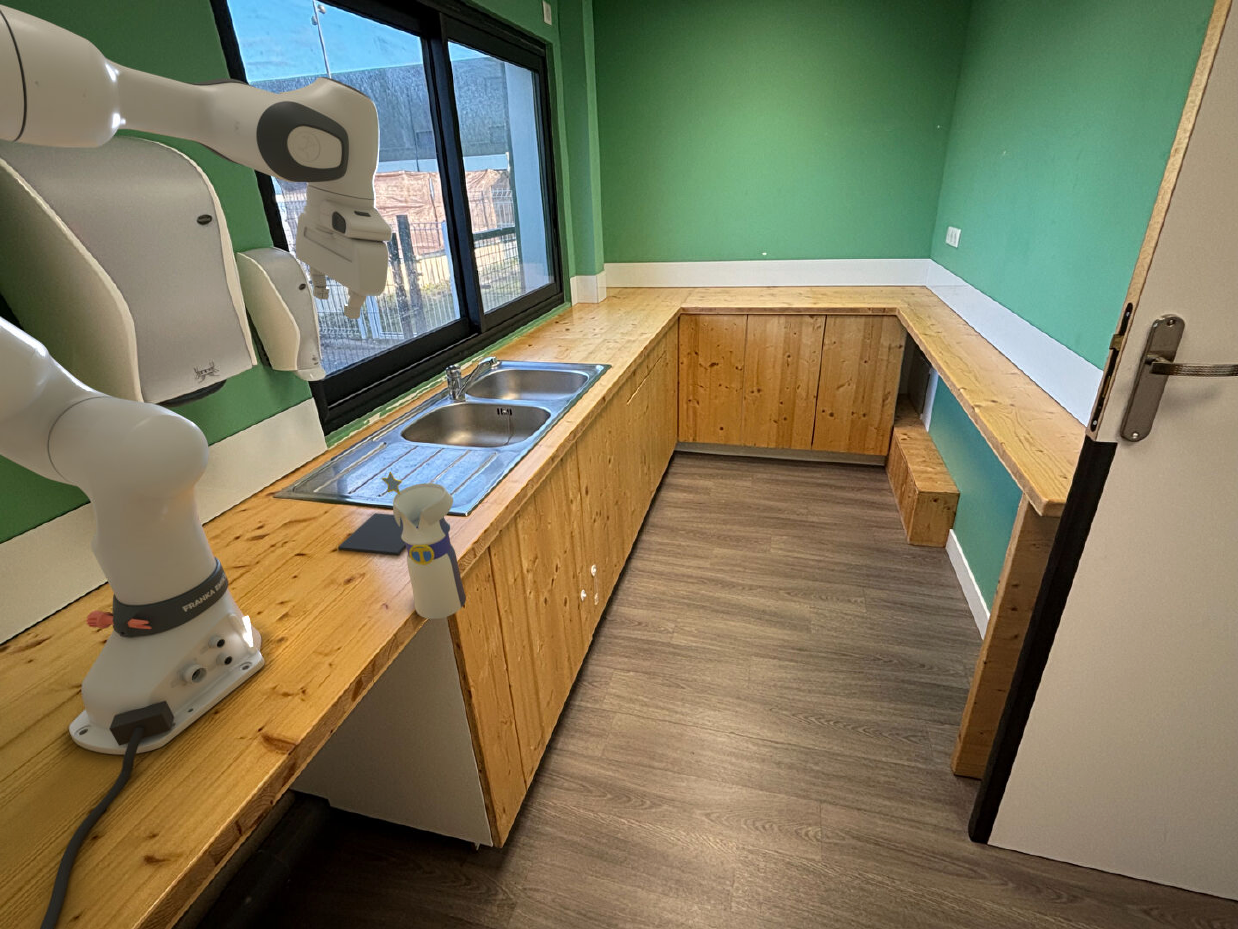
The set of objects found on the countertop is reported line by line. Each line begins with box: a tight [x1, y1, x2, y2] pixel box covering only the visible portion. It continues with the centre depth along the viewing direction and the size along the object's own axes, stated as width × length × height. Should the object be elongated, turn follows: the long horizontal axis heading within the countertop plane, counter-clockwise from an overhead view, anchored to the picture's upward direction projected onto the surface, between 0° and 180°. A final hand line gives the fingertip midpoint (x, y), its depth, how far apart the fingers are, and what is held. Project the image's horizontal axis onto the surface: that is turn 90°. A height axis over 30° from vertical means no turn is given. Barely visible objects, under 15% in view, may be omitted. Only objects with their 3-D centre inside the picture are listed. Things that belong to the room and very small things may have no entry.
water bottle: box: [380, 471, 467, 620], centre depth 89 cm, size 8×9×25 cm
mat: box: [337, 513, 407, 556], centre depth 113 cm, size 12×12×1 cm
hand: (335, 307), depth 92 cm, fingers open, 8 cm apart
